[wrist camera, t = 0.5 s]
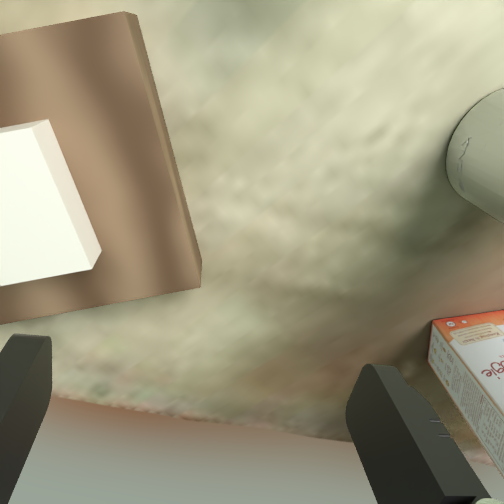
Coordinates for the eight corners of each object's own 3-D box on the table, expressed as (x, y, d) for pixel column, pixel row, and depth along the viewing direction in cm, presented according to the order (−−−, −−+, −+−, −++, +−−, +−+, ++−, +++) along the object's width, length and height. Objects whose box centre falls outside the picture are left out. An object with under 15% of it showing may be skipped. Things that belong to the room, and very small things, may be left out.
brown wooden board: (136, 15, 24) (123, 11, 21) (202, 260, 33) (200, 287, 30) (-116, 63, 24) (-171, 67, 21) (16, 295, 33) (-8, 325, 30)
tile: (48, 118, 23) (30, 127, 21) (101, 250, 27) (92, 269, 25) (-52, 137, 23) (-80, 148, 21) (17, 266, 27) (0, 286, 25)
